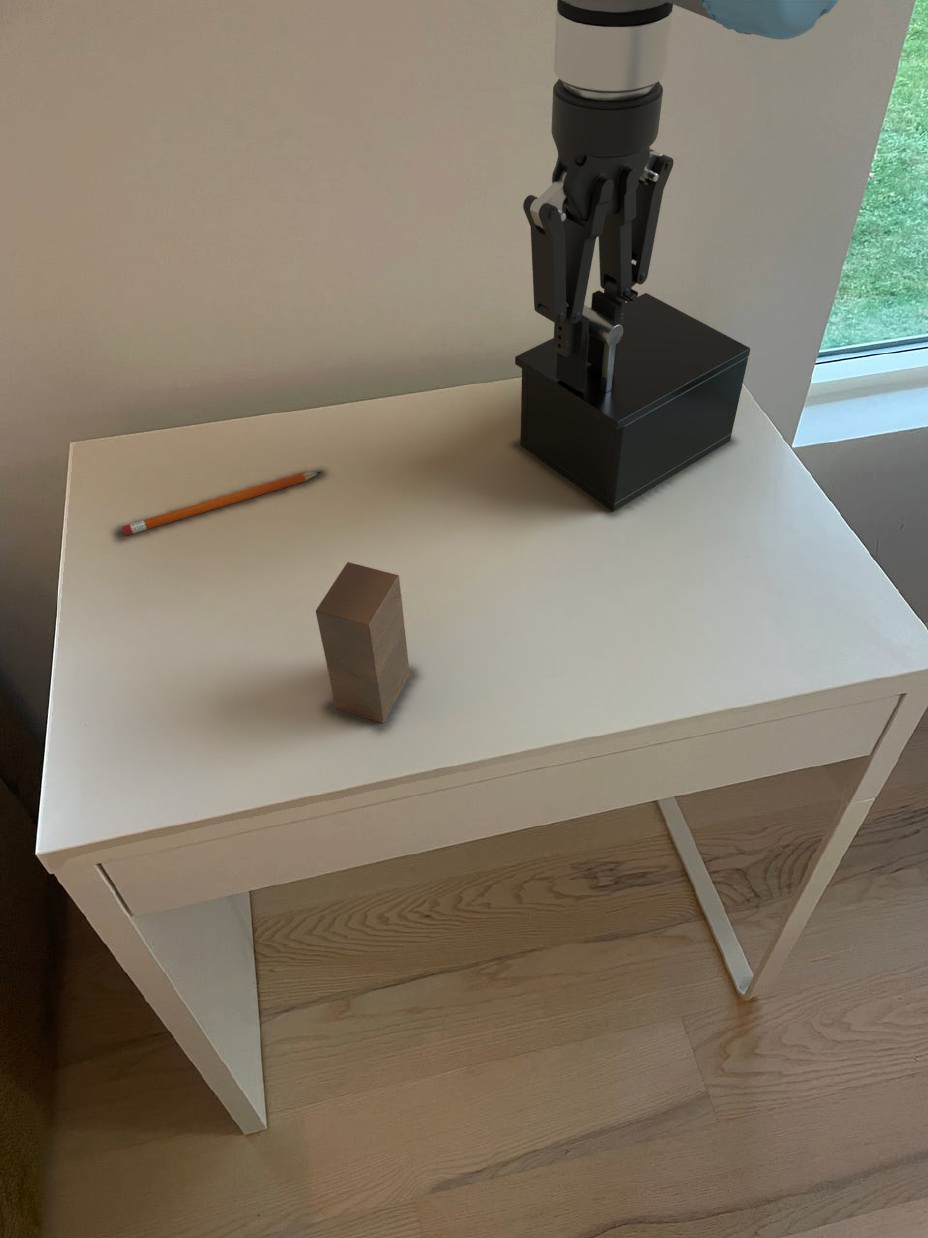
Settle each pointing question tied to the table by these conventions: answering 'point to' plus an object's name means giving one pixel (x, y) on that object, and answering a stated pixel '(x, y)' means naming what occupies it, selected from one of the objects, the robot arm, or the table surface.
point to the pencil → (217, 503)
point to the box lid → (639, 360)
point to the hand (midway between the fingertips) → (585, 373)
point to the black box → (628, 436)
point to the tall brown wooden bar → (364, 641)
